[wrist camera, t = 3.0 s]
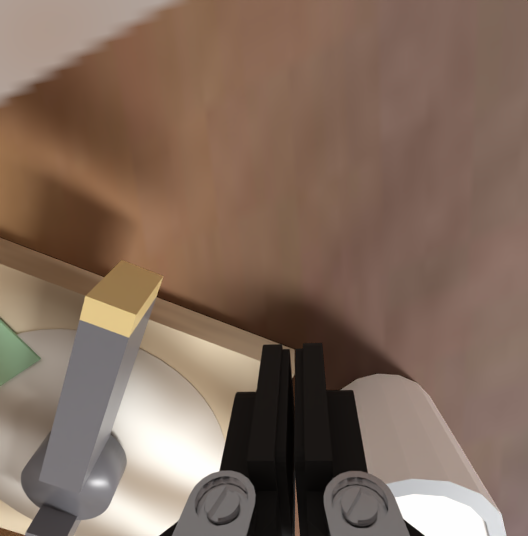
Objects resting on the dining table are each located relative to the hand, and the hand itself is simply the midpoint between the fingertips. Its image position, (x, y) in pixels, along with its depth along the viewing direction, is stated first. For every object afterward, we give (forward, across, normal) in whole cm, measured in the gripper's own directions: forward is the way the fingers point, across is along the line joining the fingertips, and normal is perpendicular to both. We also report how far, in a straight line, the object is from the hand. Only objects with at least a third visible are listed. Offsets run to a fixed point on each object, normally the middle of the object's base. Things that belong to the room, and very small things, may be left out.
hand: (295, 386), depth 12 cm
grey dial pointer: (+6, +10, +6) cm, 13 cm away
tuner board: (+8, +12, +9) cm, 17 cm away
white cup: (+9, -4, +9) cm, 13 cm away
